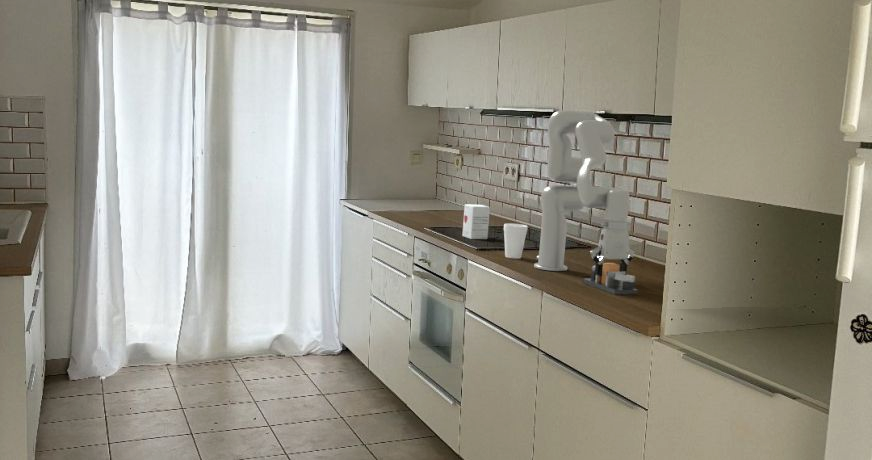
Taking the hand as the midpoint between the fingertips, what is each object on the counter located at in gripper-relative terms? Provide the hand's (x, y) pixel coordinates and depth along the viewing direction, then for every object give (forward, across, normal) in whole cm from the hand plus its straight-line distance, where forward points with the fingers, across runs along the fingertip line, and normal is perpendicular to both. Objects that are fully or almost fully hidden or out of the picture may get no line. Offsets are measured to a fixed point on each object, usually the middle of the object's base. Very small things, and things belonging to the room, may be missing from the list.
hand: (610, 275), depth 308 cm
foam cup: (+5, -5, +62) cm, 62 cm away
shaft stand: (+4, 0, 0) cm, 4 cm away
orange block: (+3, 0, 0) cm, 3 cm away
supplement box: (+5, +2, +114) cm, 114 cm away
